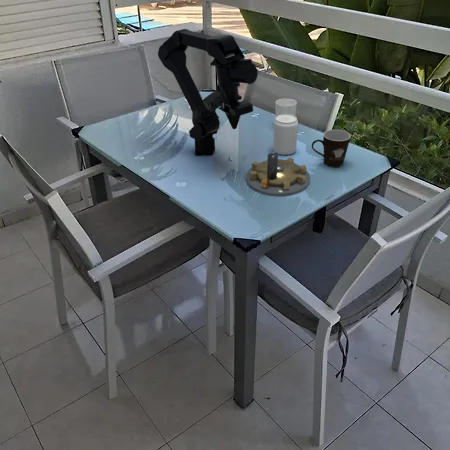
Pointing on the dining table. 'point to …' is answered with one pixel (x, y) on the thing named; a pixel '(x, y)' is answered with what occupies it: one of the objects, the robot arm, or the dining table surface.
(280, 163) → the sprocket
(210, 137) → the robot arm
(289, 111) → the white translucent cylinder
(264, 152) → the dining table surface
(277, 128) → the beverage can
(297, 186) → the sprocket base
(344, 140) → the coffee mug
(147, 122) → the dining table surface
